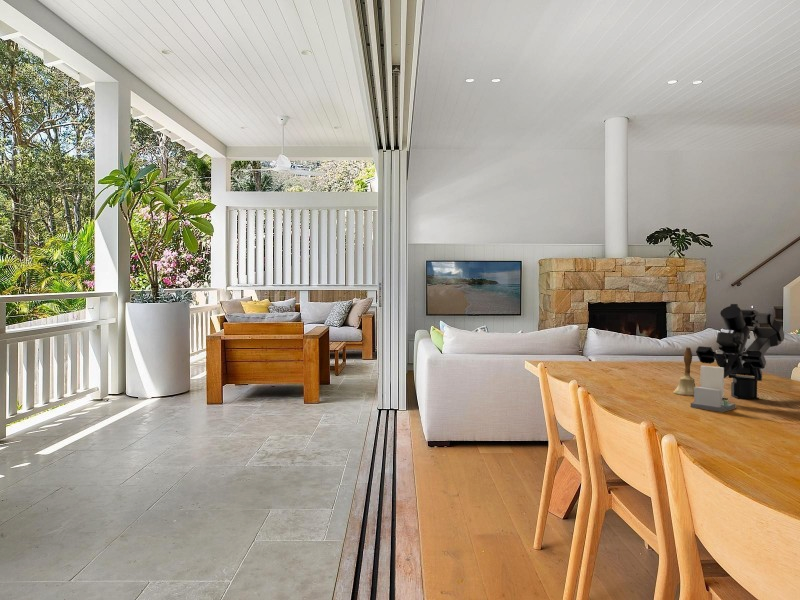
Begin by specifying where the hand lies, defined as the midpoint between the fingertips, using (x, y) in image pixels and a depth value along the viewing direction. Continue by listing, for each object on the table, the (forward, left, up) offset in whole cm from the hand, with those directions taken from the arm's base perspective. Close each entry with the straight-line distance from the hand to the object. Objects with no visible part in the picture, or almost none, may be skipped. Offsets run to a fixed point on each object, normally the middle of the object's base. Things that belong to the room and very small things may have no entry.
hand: (722, 377), depth 173 cm
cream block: (+5, +6, -7) cm, 10 cm away
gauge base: (+4, +5, -8) cm, 11 cm away
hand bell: (+5, -18, -9) cm, 21 cm away
